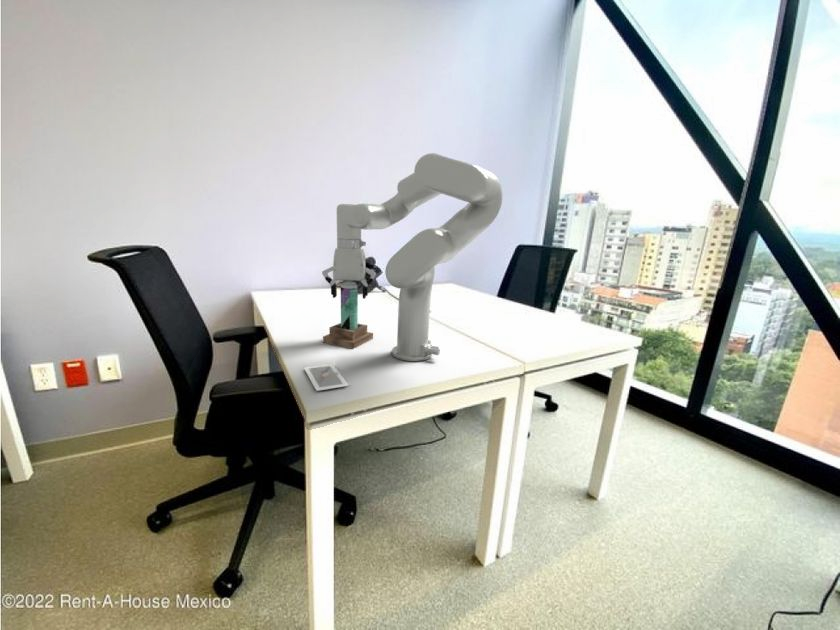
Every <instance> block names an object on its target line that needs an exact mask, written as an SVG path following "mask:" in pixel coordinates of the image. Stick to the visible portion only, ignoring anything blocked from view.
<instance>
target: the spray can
mask: <svg viewBox="0 0 840 630" xmlns="http://www.w3.org/2000/svg"><path fill="white" fill-rule="evenodd" d="M358 289H359V288H358V283H357V281H349V280H343V282H341V283H340V323H341V328H342V329H347V330H353V329H356V328H358V324H359V322H358V321H359V320H358V315H359V314H358V309H359V307H358V306H359V304H358V303H359V302H358V301H359V300H358V298H359V297H358V295H359V293H358Z"/></svg>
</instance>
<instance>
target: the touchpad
mask: <svg viewBox="0 0 840 630" xmlns="http://www.w3.org/2000/svg"><path fill="white" fill-rule="evenodd" d="M303 369H304V371H305V373H306V375H307V376H308V378H309V380H310V382H311V383H312V385H313V387H314V389H315V390H316V392H317V391H323V390H324V391H325V390H330V389H336V388H343V387H349V384H348V383H347V381H346V380H345V378H344V377H343V376H342V374H341V373H340V371H338V369H337V368H336V367H335V365H334V363H329V364H327V363H326V364H322V365H314V366H313V365H312V366H307V367H303Z"/></svg>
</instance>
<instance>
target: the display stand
mask: <svg viewBox="0 0 840 630" xmlns="http://www.w3.org/2000/svg"><path fill="white" fill-rule="evenodd" d="M373 339H374V333H373V332H369V331H368V324H362V323H358V328H356V329H353V330H347V329H342V328H341V322H340V323H337V324H335V325H332V326H329V333H327V334H325V335H323V336H322V342H323V343H325V344H328V345H329V344H330V345H335V346H338V345H339V346H340V347H343V346H344V347H345V348H350V349H354V348H355V349H357V348H358V347H360V346H363V345H364V344H366V343H368V342H369V341H371V340H373Z"/></svg>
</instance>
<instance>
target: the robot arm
mask: <svg viewBox="0 0 840 630" xmlns="http://www.w3.org/2000/svg"><path fill="white" fill-rule="evenodd" d="M396 189H397V193H396V194H395V195H394V196H393V197H391V198H389V199H388V200H386V201H384V202H382V203H381V204H376V203H358V204H352V203H341V204H338V205H337V207H336V246H337V247H336V248H335V249H334V254H333V263H332V266H330V267H329V268H326V269H324V270H323V271H321V274H322V276H323V277H324V279H325V281H326V282H327V283H328V285H330V293H331V296H332V298H333V299H334V298H337V296H338V292H337V288H338V287H337V284H336V283H337V281H345V280H349V281H354V282H357V281H358V282H361V283H362V285H363V286H362V299H364V300H365V299H366V298H367V296H368V295H369V294H368V293H369V291H368V289H369V287H368V286H370V285H371V284H372V283H373V282H374V279H375V277H376V276H377V272H376V271H373V270H372V269H370V268H368V267H366V255H365V250H364V249H363V248H362V247H366V245H367V243H366V241H364V240H362V230H364V231H365V230H369V231H370V230H384V229H387V228H389V227H391V226H393V225H395V224H397V223H399V222H400V221H402V220H404V219H405V218H406V217H408V216H409V215H410V214H411V213H412V212H413V211H414V210H415V209H416V208H418V207H420V206H421V205H424V204H426V203H427V202H428V201H431V200H432V199H434V198H436V197H437V196H440V195H445V196H448V197H452V198H454V199H456V200H460V201H463V202H466V203H467V204H466V205H465V206H464V207H463V208H461V209H460V210H459V211H457V212H456V213H455V214H453V216H452V217H451V218H450V219H448V220H447V221H446V222H445V223H443V224H442V225H440V226H438V227H435V228H433V227H432V228H431V227H430V228H426V229H422V230H421V231H420V232H418V233H417V234H415V235H414V236H413V237H411V239H409V241H408V242H406V243H405V244H404V245H402V247H401V248H400V249H398V251H397V252H396V253H395V254H393V255H392V256H391V257H390V259H388V261H387V263H386V267H385V272H384V273H385V278H386V280H387V282H388V283H389V285H390V286H391V287H394V288H396V289H398V290H400V291H399V296H398V307H397V311H398V313H397V335H396V336H397V338H396V346H394V347H393V348H392V349H391V354H392V357H395V359H398V360H402V361H407V362H421V361H427V360H429V359H430V358H432V356H433V355H435V356H439V355H440V352H441V349H440V348H439V346H436V345H432V341H431V340H430V339H429V328H430V327H429V325H430V311H431V310H430V308H431V297H432V289H433V284H434V278H435V271H436V270H435V266H437V265H440V264H444V263H445V264H446V263H447V262H449V261H451V260H452V259H453V258H454V257H455V256H456V255H458V254H459V253H460V252H461V251H462V250H463V249H465V248H466V247H467V246H469V244H471V243H472V242H473V241H474V240H476V238H478V236H480V235H481V234H482V233H483V232H485V231H486V230H487V229H488V228H489V227H490V225H491V224H493V222H494V221H495V219H497V217H498V215H499V213H500V210H501V208H502V204H503V190H502V185H501V183H500V180H499V179H498V177H497V176H496V175H495V174H494V173H492V172H491V171H489V170H487V169H484V168H483V167H481V166H478V165H475V164H472V163H468V162H465V161H461V160H457V159H454V158H450V157H447V156H445V155H441V154H438V153H435V152H430V153H427V154H425V155H422V156H421V157H420V158H419V159H418V160H417V162H416V163H415V166H414V171H413V173H411V174H409V175H407V176H406V177H404V178H403V179H401V180H399V181H398V183H397V186H396ZM331 272H332V277H333V279H332V278H331V277H330V275H329V273H331ZM366 274H368V275H370V277H369V278H368V280H367V279H366V276H367V275H366Z"/></svg>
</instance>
